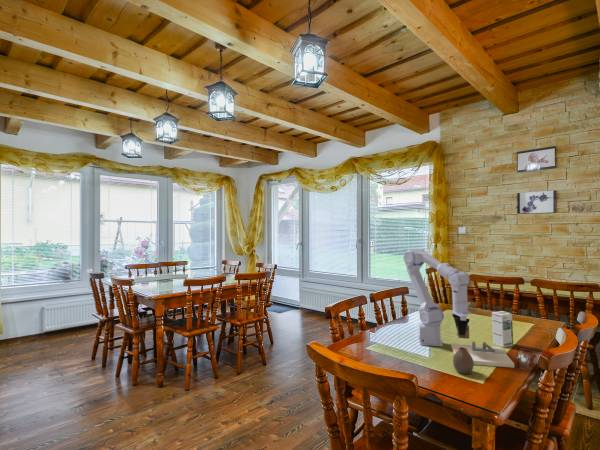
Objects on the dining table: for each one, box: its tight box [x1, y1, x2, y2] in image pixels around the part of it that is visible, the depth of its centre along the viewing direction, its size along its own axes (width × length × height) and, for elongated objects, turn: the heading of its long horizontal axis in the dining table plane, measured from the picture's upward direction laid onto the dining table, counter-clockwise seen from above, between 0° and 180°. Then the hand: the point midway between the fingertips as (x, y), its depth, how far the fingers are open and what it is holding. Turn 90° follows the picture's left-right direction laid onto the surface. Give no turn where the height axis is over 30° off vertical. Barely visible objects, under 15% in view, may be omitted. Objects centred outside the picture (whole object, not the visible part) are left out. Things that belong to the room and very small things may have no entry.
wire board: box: [450, 343, 515, 369], centre depth 140 cm, size 20×18×2 cm
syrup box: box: [491, 310, 514, 348], centre depth 153 cm, size 6×6×14 cm
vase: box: [452, 347, 474, 375], centre depth 126 cm, size 7×7×9 cm
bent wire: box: [471, 341, 495, 352], centre depth 139 cm, size 8×9×4 cm
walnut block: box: [456, 323, 470, 339], centre depth 144 cm, size 4×4×5 cm
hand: (460, 333), depth 144 cm, fingers closed on walnut block, 4 cm apart
